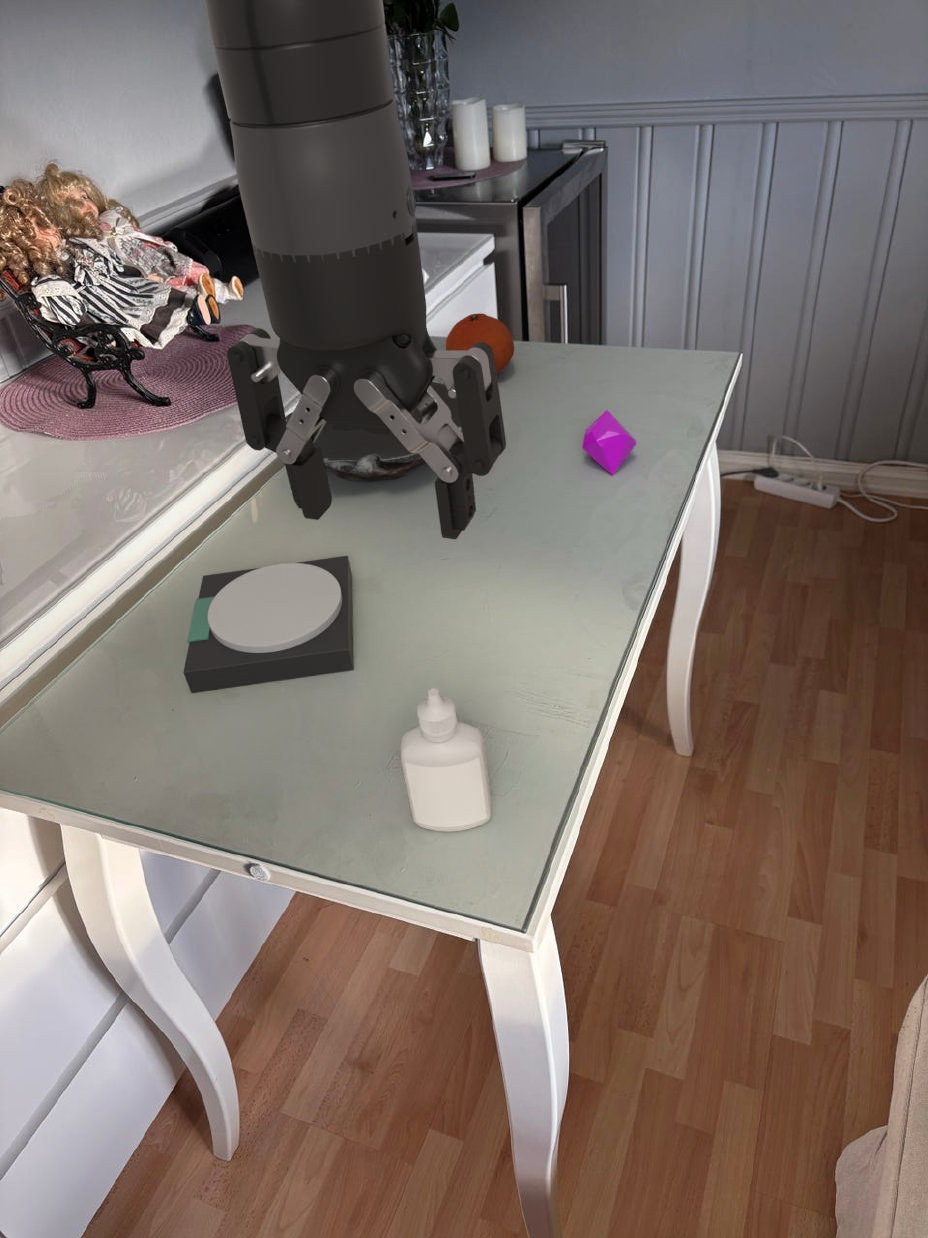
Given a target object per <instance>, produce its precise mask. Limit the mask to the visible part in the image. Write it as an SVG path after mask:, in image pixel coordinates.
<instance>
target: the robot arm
mask: <svg viewBox="0 0 928 1238" xmlns="http://www.w3.org/2000/svg"><path fill="white" fill-rule="evenodd" d="M202 1H203V5H204V10H205V14H206V20H207V26H208V32H209V38H210V43H211V46H213V47H212V51H213V55H214V60H215V64H216V68H217V73H218V77H219V82H220V86H221V90H222V95H223V99H224V103H225V107H226V112H227V117H228V119H230V121H229V125H230V131H231V136H232V145H233V153H234V164H235V171H236V179H237V184H238V191H239V194H240V198H241V203H242V207H243V211H244V215H245V219H246V225H247V228H248V232H249V236H250V239H251V240H250V241H251V246H252V250H253V255H254V258H255V261H256V267H257V271H258V275H259V279H260V285H261V288H262V292H263V296H264V300H265V306H266V310H267V313H268V319H269V323H270V326H271V329H272V331H273V332H274V334H275V335H276V336H277V337H278V338H279V339H274V338H271V336H270V334H269V333H268V332H267V331H266V329H264V328H261V327H257V328H254V329H253V330H252V331H250V332H249V333H248V334H246V335H245V336H243V337H242V338H241V339H239V340H238V341H237V342H235V343H234V344H233V345H232V346H230V347H229V348H228V349H227V351H226V357H227V361H228V366H229V370H230V374H231V379H232V384H233V388H234V393H235V398H236V402H237V406H238V411H239V416H240V421H241V425H242V430H243V435H244V439H245V442H246V444H247V445H248V446H249V447H250V448H251V449H252V450H254V451H262V450H264V449H267V450H269V451H271V452H273V453H275V454H276V456H277V458H278V459H279V460H280V461H281V462H282V463H283V464H284V466H285V470H286V475H287V478H288V482H289V486H290V490H291V491H290V492H291V495H292V499H293V502H294V503H295V504H296V506H297V508H298V509H301V511H302V514H303V518H305V519H307V520H314V521H318V520H320V519H321V518H322V517H323V516H324V514H325V513H326V512H327V511H328V510H329V509H330V507H331V506H332V502H333V496H332V491H331V487H330V482H329V478H328V472H327V467H325V463H324V459H323V454H322V449H321V447H317V446H314V444H313V443H314V442H315V441H316V439H317V437H318V436H319V434H320V432H321V430H322V428H323V427H324V425H325V423H326V422H328V423H330V424H332V425H333V429H334V430H342V431H349V430H355V429H362V430H365V431H368V432H371V433H373V434H382V435H388V434H389V432H390V431H392V433H393V434H394V435H395V436H396V437H397V438H398V440H399V441H400V442H401V443H402V444H403V445H404V447H405V448H406V449H407V450H408V451H409V452H411V453H418V454H419V455H420V456H421V457H422V458H423V459H424V460H425V462H424V463H426V464H427V466H428V467H429V468H430V469H431V470H432V471H433V473H435V475H436V476H437V478H436V480H435V481H434V488H435V496H436V497H435V498H436V504H437V512H438V519H439V527H440V535H441V537H442V538H443V539H448V540H457V539H458V538H459V536H460V535H461V534H462V532H464V531H465V530H467V528H468V526H469V524H470V523H471V521H472V520H473V518H474V516H475V513H476V512H477V507H476V506H477V505H476V497H475V486H474V477H473V475H476V476H479V477H483V476H487V475H488V474H489V473H490V472H491V470H492V468H493V467H494V464H495V462H497V459H498V458H499V457H500V456H501V455H502V453H503V452H504V451H505V449H506V448H507V440H506V433H505V425H504V418H503V411H502V410H503V409H502V403H501V396H500V389H499V381H498V373H496V366H495V359H494V352H493V350H492V348H491V347H490V346H489V345H488V344H487V343H484V342H477V343H475V344H474V345H473V346H472V347H471V348H470V349H469V350H466V351H446V350H438V348H437V347H436V345H435V343H434V342H433V340H432V339H431V337H430V334H429V332H428V328H427V300H426V291H425V290H426V289H425V284H424V275H423V267H422V260H421V258H422V257H421V250H420V242H419V234H418V227H417V219H416V210H417V209H416V207H417V202H416V193H415V189H414V187H413V185H412V179H411V170H410V164H409V162H410V161H409V157H408V153H407V152H408V151H407V146H406V142H405V138H404V134H403V131H402V127H401V123H400V119H399V115H398V109H397V108H398V107H397V103H396V99H395V98H394V97H395V87H394V80H393V73H392V65H391V57H390V48H389V41H388V40H389V39H388V32H387V25H386V24H385V23H386V16H385V9H384V2H383V0H202ZM281 372H282V373H283V374H284V376H285V377H286V379H288V380H289V382H290V383H291V384H292V385H293V386H294V388H295V389H296V390H297V391H298V392H299V393H300V394H301V395H300V398H299V400H298V402H297V404H296V405H295V408H294V410H293V411H292V412H293V413H292V412H291V413H292V415H291V417H290V419H289V421H288V422H287V421H286V412H285V407H284V402H283V401H284V400H283V395H282V390H281V385H280V379H279V374H280V373H281ZM435 377H436V378H437V379H440V380H441V382H442V383H443V384H445V385H446V388H447V390H448V396H449V397H450V398H457V403H458V409H459V415H460V421H461V427H462V432H461V431H460V429H459V428H458V427H457V426H456V425H455V423H454V422H453V421H452V418H451V411H450V409H449V407H448V406H447V405H446V404H445V403H444V401H443V400H442V399H441V398H440V397H439V395H438V394H437V393H436V392H435V390H434V389H433V388H432V387H431V386H430V384H431V383H432V381H433V382H434V380H435ZM416 407H417V409H418V410H419V411H420V413H421V414H422V418H423V420H422V423H421V424H419V423H418V422H417V421H416V420H415V419H414V418H413V417H412V416H411V414H412V413H413V412H414V410H415V408H416Z"/></svg>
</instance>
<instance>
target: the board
mask: <svg viewBox="0 0 928 1238" xmlns="http://www.w3.org/2000/svg"><path fill="white" fill-rule="evenodd" d="M430 386H431V387H432V388H433V389H434V390H435V392H436V393H437V394H438V395H439V397H440V398H441V399H442V400H443V401H444V403H445V404H446V405H447V406H448V407H449V409H450V411H451V418H452V421H453V422H454V423H455V425H456V426H457V427H458V428H459V429H460V431H461V432H462V427H461V421H460V415H459V409H458V403H457V398H450V397H449V396H448V390H447V388H446V385H445V383H442V382H439V381H436V380H433V381H432V383H431V384H430ZM292 413H293V411H292V412H290V413H288V414H287V415H285V417H286V421H287V422H288V421H289V419H290V417H291V415H292ZM411 416H412V417H413V418H414V419H415V420H416V421H417V422H418V423H419V424H421V423H422V420H423V418H422V414H421V413H420V411H419V410H418V409H417V407H416V408H415V410H414V412H413V413H412V414H411ZM313 444H314V446H317V447H321V449H322V454H323V459H324V463H325V468H326V469H327V468H328V469H330V470H332V473H333V474H334V475H335V476H337V477H339V478H341V479H344V480H345V479H347V480H348V481H364V482H375V481H381V480H394V479H398V478H401V477H402V476H403V477H404V476H405V475H407V473H408V472H409V470H413V469H415V468H417V467H419V466H421V465H423V464H424V463H426V462H425V460H424V459H423V458H422V457H421V456H420V455H419V454H418V453H411V452H409V451H408V450H407V449H406V448H405V447H404V445H403V444H402V443H401V442H400V441H399V440H398V438H397V437H396V436H395V435H394V434H393V433H392V431H390V432H389V434H388V435H382V434H373V433H371V432H368V431H365V430H362V429H355V430H349V431H342V430H334V429H333V425H332V424H330V423H328V422H326V423H325V425H324V427H323V428H322V430H321V432H320V434H319V436H318V437H317V439H316V441H315V442H314V443H313Z"/></svg>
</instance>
